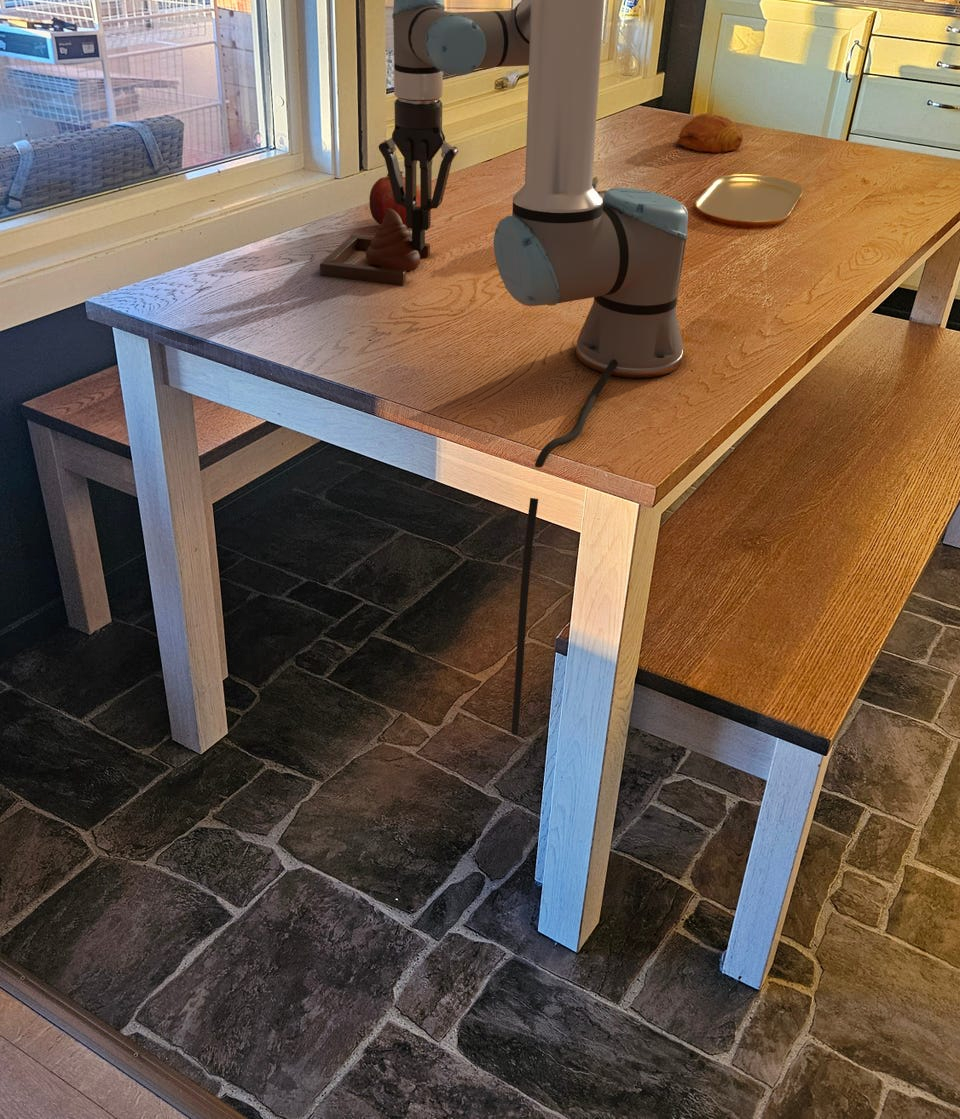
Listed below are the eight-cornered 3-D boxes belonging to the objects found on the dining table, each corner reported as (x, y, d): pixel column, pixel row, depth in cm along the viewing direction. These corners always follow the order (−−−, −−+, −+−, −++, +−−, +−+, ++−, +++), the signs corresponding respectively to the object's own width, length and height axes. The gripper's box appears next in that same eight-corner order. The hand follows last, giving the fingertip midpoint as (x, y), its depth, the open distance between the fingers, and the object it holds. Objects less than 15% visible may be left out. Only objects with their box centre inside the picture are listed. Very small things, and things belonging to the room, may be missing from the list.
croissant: (701, 144, 272) (703, 110, 269) (751, 149, 262) (754, 113, 258) (662, 150, 265) (664, 115, 261) (712, 155, 254) (714, 118, 250)
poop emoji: (355, 262, 187) (353, 208, 181) (389, 251, 192) (389, 197, 187) (397, 277, 182) (397, 221, 176) (431, 265, 187) (432, 210, 182)
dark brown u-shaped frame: (403, 285, 179) (403, 273, 177) (320, 275, 181) (319, 263, 180) (430, 254, 191) (430, 243, 190) (352, 245, 194) (351, 234, 193)
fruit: (389, 214, 210) (389, 161, 204) (433, 224, 206) (433, 170, 200) (357, 228, 202) (355, 173, 196) (401, 239, 198) (400, 183, 192)
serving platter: (684, 220, 213) (685, 212, 212) (722, 177, 240) (723, 169, 239) (780, 234, 208) (781, 226, 207) (807, 189, 234) (809, 181, 233)
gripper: (464, 97, 171) (461, 245, 185) (385, 90, 174) (388, 237, 187) (452, 107, 165) (450, 259, 179) (371, 100, 168) (374, 250, 181)
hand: (418, 247), depth 183 cm, fingers closed
